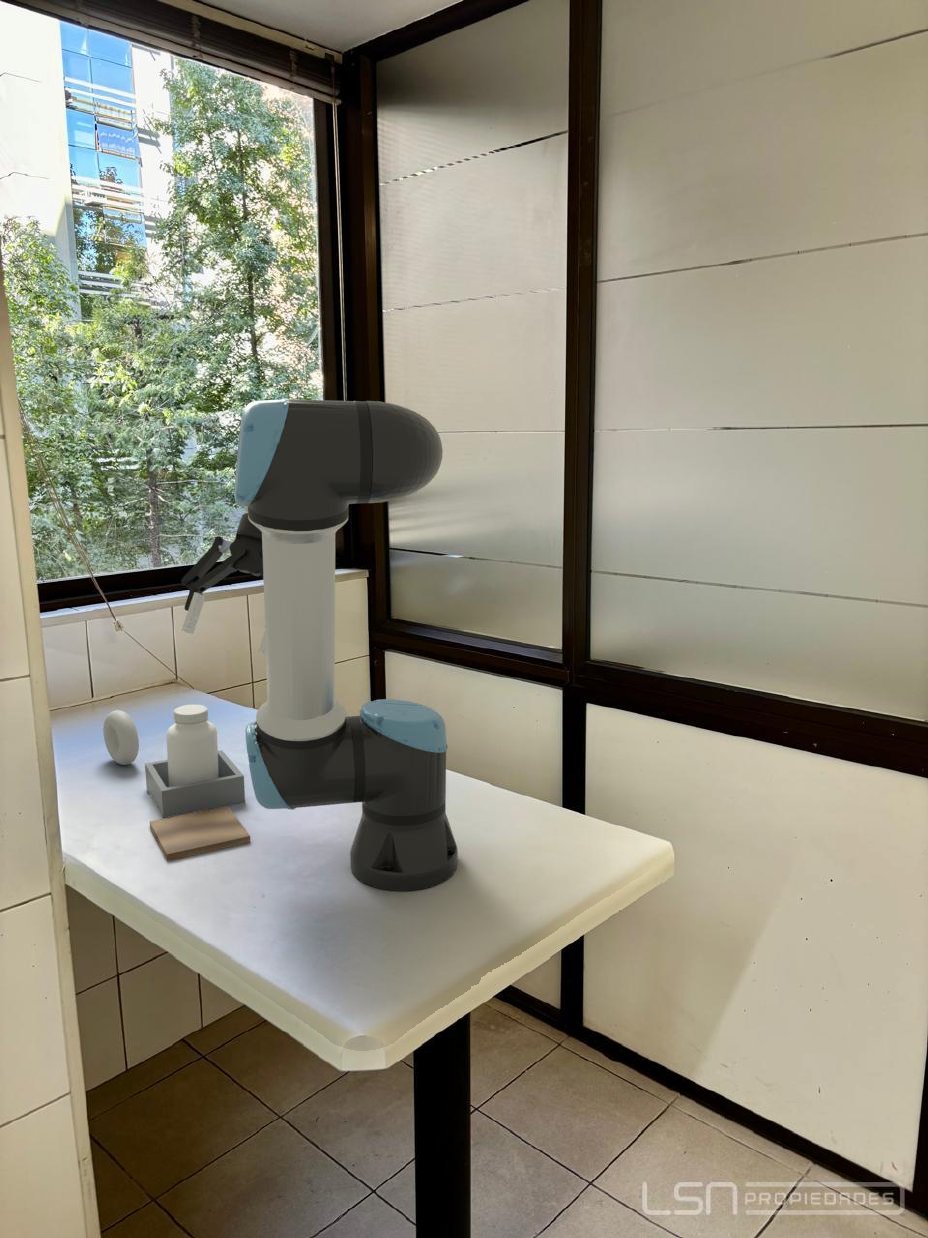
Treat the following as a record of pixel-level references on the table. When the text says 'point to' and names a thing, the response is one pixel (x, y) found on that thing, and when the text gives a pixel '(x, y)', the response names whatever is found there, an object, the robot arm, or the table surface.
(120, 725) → the donut
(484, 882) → the table surface
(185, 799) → the sleeve
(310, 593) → the robot arm
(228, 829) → the pad
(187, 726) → the pill bottle
